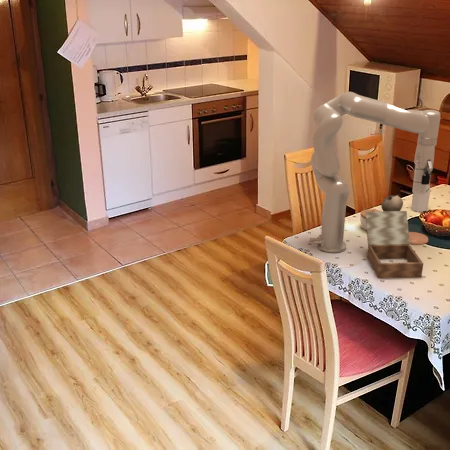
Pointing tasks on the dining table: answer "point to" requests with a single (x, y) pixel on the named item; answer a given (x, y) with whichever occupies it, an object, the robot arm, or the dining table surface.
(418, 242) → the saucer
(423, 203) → the milk bottle
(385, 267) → the cold frame
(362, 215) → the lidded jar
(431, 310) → the dining table surface
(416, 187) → the syrup box
